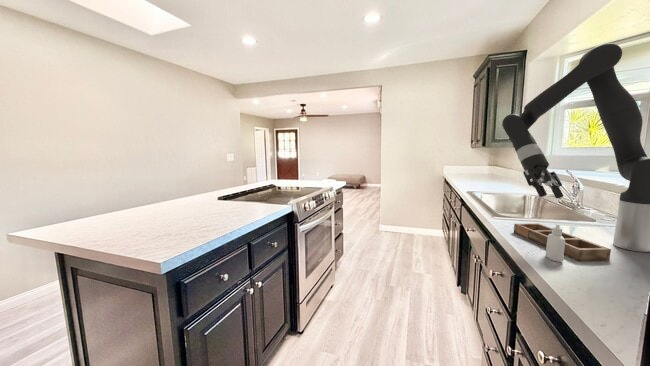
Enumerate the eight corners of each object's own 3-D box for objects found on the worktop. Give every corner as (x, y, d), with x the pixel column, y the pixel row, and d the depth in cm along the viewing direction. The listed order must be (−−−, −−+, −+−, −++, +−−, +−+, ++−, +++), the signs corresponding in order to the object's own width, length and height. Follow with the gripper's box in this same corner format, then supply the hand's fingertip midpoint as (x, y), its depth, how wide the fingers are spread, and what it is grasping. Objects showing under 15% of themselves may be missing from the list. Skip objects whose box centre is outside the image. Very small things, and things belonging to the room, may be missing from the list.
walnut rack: (537, 232, 113) (538, 223, 113) (609, 260, 85) (611, 249, 84) (512, 232, 113) (513, 223, 113) (577, 261, 85) (578, 249, 84)
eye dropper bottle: (562, 257, 88) (566, 223, 86) (563, 263, 83) (567, 227, 82) (545, 254, 91) (549, 221, 89) (545, 259, 86) (549, 225, 85)
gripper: (527, 151, 94) (549, 191, 87) (554, 155, 98) (576, 193, 91) (509, 161, 100) (527, 200, 93) (535, 165, 105) (554, 202, 97)
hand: (552, 196), depth 92 cm, fingers open, 8 cm apart
